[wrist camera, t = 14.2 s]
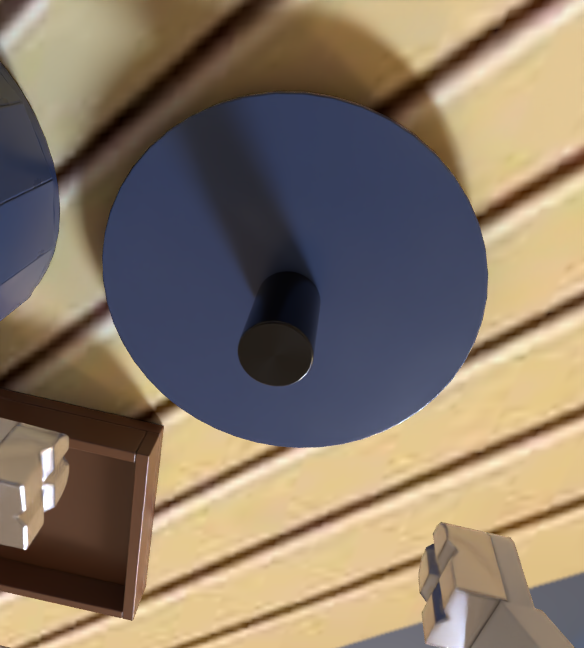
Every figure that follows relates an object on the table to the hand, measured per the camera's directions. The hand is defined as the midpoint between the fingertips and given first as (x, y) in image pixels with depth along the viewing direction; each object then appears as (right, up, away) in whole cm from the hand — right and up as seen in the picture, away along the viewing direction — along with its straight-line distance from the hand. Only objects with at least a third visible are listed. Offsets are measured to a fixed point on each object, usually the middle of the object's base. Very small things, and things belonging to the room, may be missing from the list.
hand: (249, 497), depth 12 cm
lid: (+1, +5, +9) cm, 10 cm away
